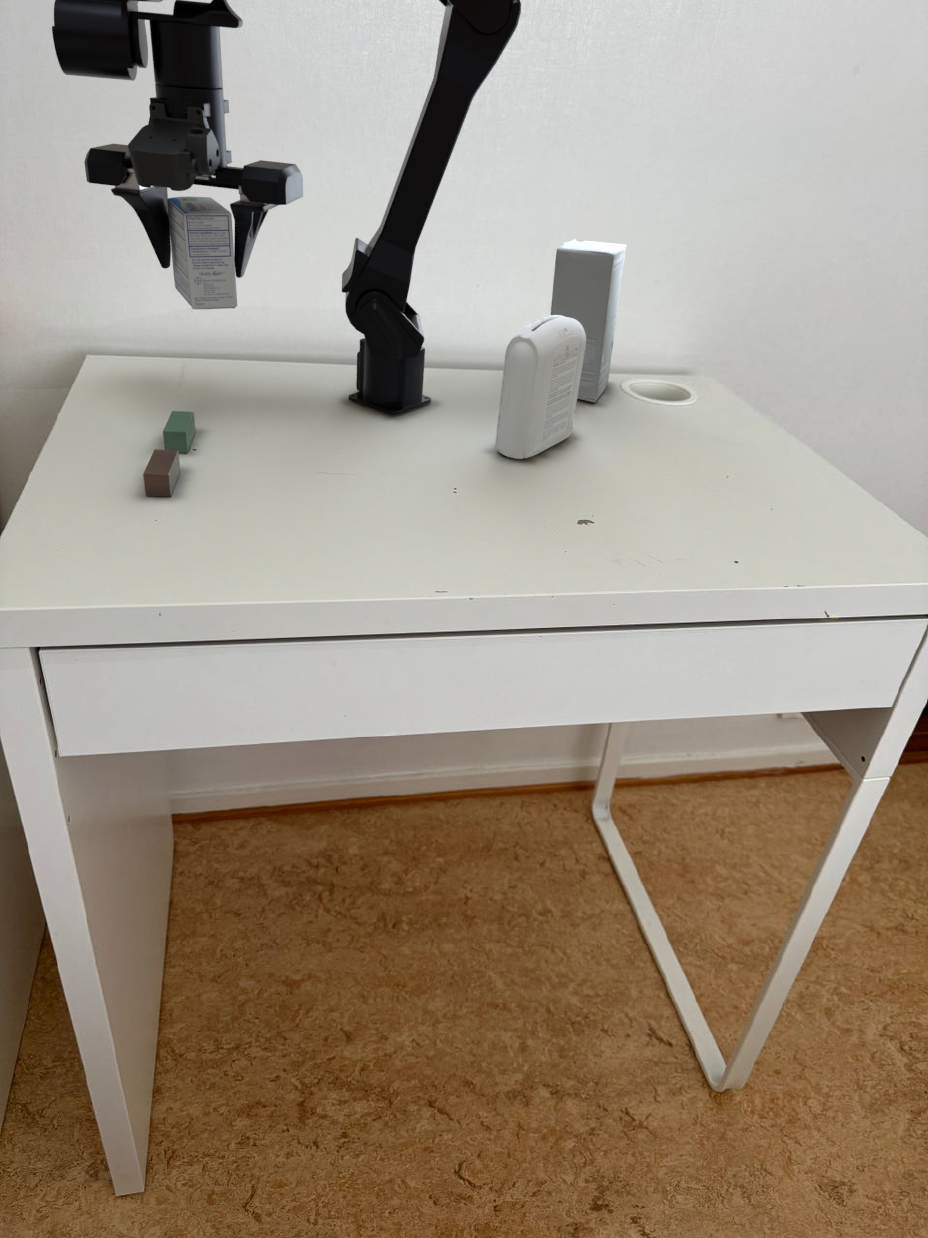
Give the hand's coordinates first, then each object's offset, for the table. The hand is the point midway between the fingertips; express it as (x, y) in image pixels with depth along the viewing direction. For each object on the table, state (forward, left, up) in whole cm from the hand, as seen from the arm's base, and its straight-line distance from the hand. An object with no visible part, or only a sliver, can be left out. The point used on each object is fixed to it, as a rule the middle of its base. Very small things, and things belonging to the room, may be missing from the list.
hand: (202, 272), depth 88 cm
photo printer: (-31, -14, -12) cm, 36 cm away
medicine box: (0, 0, -3) cm, 3 cm away
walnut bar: (-14, +17, -12) cm, 25 cm away
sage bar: (-8, +10, -12) cm, 18 cm away
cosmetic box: (-25, -32, -12) cm, 43 cm away
